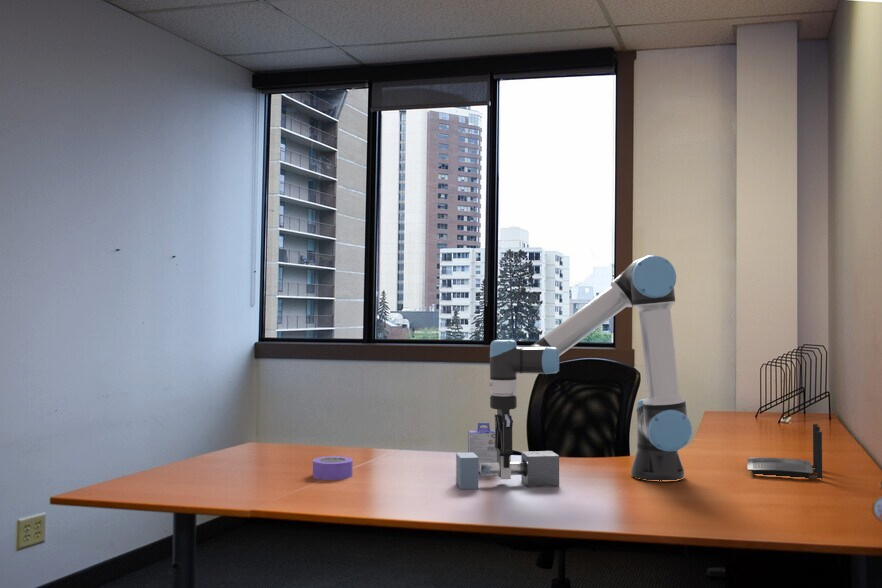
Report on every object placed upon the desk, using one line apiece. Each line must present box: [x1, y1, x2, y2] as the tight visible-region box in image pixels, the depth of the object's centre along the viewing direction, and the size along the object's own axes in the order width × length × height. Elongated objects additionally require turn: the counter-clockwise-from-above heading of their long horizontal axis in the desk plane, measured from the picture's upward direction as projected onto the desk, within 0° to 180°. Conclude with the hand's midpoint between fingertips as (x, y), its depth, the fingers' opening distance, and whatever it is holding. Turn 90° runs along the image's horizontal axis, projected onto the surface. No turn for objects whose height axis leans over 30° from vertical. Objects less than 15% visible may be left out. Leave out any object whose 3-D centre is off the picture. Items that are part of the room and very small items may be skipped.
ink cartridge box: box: [467, 422, 497, 473], centre depth 252 cm, size 10×6×14 cm, turn 90°
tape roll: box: [312, 455, 354, 481], centre depth 245 cm, size 12×12×5 cm
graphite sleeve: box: [520, 450, 560, 488], centre depth 234 cm, size 9×8×8 cm
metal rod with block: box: [479, 448, 526, 479], centre depth 233 cm, size 18×5×8 cm, turn 97°
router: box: [746, 423, 823, 479], centre depth 249 cm, size 21×20×15 cm
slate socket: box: [455, 452, 479, 490], centre depth 231 cm, size 5×8×9 cm, turn 7°
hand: (503, 476), depth 233 cm, fingers closed on metal rod with block, 5 cm apart
